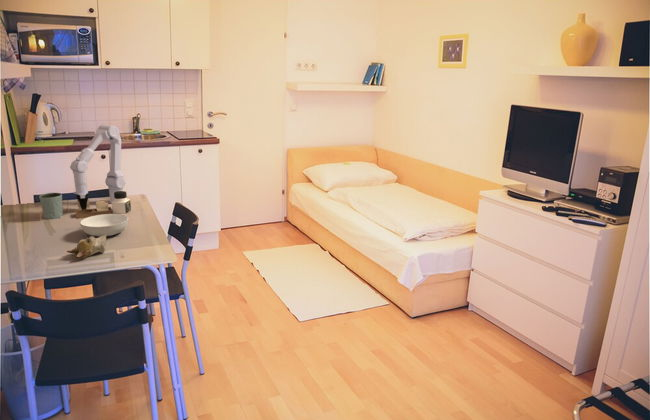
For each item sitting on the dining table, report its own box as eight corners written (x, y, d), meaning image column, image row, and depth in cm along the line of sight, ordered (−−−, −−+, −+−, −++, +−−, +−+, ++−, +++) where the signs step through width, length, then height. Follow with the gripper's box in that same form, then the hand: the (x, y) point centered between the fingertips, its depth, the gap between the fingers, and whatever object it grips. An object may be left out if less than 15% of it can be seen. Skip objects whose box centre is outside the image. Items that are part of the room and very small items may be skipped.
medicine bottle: (126, 215, 269) (124, 193, 265) (112, 215, 269) (110, 193, 266) (131, 211, 276) (129, 189, 272) (118, 211, 276) (116, 189, 272)
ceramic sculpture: (110, 234, 214) (72, 244, 204) (113, 253, 216) (76, 264, 207) (100, 228, 221) (63, 238, 211) (103, 247, 224) (67, 257, 214)
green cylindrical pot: (68, 215, 268) (65, 193, 264) (57, 221, 258) (53, 198, 254) (50, 214, 268) (47, 192, 265) (38, 220, 259) (34, 197, 255)
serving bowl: (138, 229, 248) (137, 215, 246) (110, 243, 229) (108, 228, 227) (102, 225, 253) (100, 211, 251) (71, 238, 234) (69, 224, 232)
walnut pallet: (75, 215, 268) (74, 209, 267) (111, 211, 275) (110, 206, 274) (76, 220, 259) (75, 215, 258) (112, 216, 266) (112, 211, 266)
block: (97, 212, 269) (95, 201, 267) (108, 211, 271) (107, 200, 270) (97, 214, 266) (96, 203, 264) (109, 213, 268) (107, 202, 266)
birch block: (78, 211, 273) (77, 199, 272) (89, 209, 276) (88, 198, 274) (78, 213, 270) (77, 201, 268) (90, 211, 272) (88, 200, 270)
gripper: (71, 181, 273) (75, 205, 277) (72, 187, 260) (76, 212, 264) (86, 179, 276) (89, 204, 280) (87, 185, 264) (91, 211, 267)
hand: (83, 208), depth 272 cm, fingers closed on birch block, 4 cm apart
